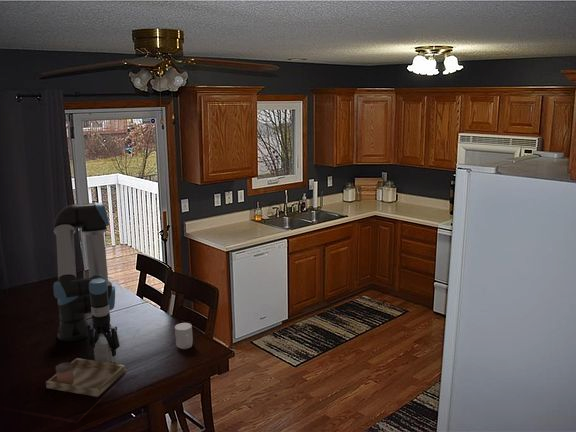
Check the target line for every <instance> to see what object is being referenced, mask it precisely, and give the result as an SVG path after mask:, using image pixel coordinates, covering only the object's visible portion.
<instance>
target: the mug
mask: <svg viewBox="0 0 576 432" xmlns="http://www.w3.org/2000/svg"><path fill="white" fill-rule="evenodd" d="M174 336H175V346H176V347H177V348H179V349H182V350H187V349H189V348H192V346H193V341H194V340H193V339H194V338H193V326H192V323H190V322H181V323H177V324H176V325H175V326H174Z"/></svg>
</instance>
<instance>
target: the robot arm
mask: <svg viewBox="0 0 576 432" xmlns="http://www.w3.org/2000/svg"><path fill="white" fill-rule="evenodd" d="M109 226H110V222H109V216H108V212H107V208H106V205H105V204H104V203H103V202H89V203H79V204H78V203H77V204H70V205H67V206H65V207H63V208H62V209H61V210H60V211H59V213H58V214H57V215H56V217H55V219H54V221H53V233H54V235H56V238H55V239H56V256H57V257H56V258H57V281H55V282H53V287H52V288H53V295H54V298H55V299H57V306H58V313H59V314H58V315H59V326H58V329H57V330H58V331H57V338H58V340H60V341H61V342H76V341H79V340H83V339H85V338H87V346H89V347H91V348H92V349H91V350H92V354H93V355H94V361H96V352H95V344H96V342H97V340H98V339H99V337H101V335H103V336H104V337H106V340H107V342H108V344H109V346H110V350H109V353H110V363H115V362H116V356H117V350H118V348H119V347H120V342H119V334H118V327H117V326H112V324H111V314H110V311H111V310H114V309H115V304H116V286H114V285H113V283H112V282H111V281H109V276H108V275H109V274H108V264H107V263H108V262H107V253H106V252H107V251H106V242H105V232H106V231H107V229H108V228H107V227H109ZM76 229H81V233H83V235H85V245H86V256H87V264H88V266H87V268H88V275H89V277H85V278H77V267H76V250H75V249H76V248H75V237H74V235H75V233H76ZM87 314H91V322H90V323H89V322H88V321H87V319H86V315H87Z"/></svg>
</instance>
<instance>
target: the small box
mask: <svg viewBox="0 0 576 432" xmlns="http://www.w3.org/2000/svg"><path fill="white" fill-rule="evenodd" d="M109 350H110V346H109V344H108V342H107V340H106V337H104V335H103V336H99V339H98V340H97V342H96V344H95V352H96V360H95V361H100V362H107V363H110V353H109Z"/></svg>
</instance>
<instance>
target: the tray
mask: <svg viewBox="0 0 576 432" xmlns="http://www.w3.org/2000/svg"><path fill="white" fill-rule="evenodd" d="M70 363H72V366H73V367H72V370H73V379H74V383H73V384H72V385H70V384H64V383H58V379H57V373H55V374H54V375H53V376H52V377H50V378H49V379H48V380H47V381H45V386H46V389H52V390H56V391H62V392H67V393H73V394H80V395H86V396H89V397H90V396H91V397H95V398H96V397H97V398H98V397H99V396H101V394H103V393H104V392H105V391H106V390H107V389H108V388H109V387H110V386H111V385H112V384H114V382H116V381H117V380H118V379H119V378H120V377H121V376H122V375H123V374H124V373H125V372H126V365H125V364H119V363H118V364H117V363H114V362H112V363H107V362H100V361H96V360H93V359H86V358H79V357H76V358H75V359H74V360H72V361H71V362H70Z"/></svg>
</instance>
